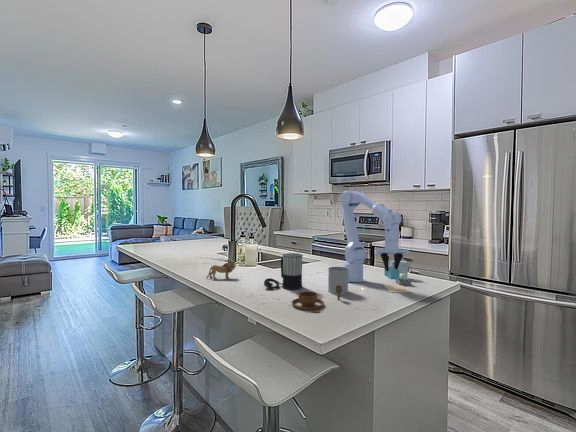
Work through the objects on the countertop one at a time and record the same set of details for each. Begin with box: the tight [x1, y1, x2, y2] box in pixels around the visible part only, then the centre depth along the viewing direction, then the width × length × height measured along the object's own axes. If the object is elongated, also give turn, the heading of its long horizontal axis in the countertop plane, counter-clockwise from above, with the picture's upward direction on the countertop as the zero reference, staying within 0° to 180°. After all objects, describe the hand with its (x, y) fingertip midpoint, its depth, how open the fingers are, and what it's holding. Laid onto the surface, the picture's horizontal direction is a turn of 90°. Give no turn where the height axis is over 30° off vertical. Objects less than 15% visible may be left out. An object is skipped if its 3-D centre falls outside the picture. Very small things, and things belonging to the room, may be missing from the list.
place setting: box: [291, 286, 342, 314], centre depth 121 cm, size 18×20×6 cm
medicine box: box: [389, 260, 409, 279], centre depth 164 cm, size 8×4×9 cm, turn 84°
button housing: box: [395, 278, 412, 286], centre depth 152 cm, size 5×5×2 cm
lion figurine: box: [206, 259, 237, 280], centre depth 163 cm, size 15×5×9 cm, turn 103°
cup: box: [327, 266, 349, 295], centre depth 139 cm, size 8×8×10 cm
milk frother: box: [263, 252, 304, 290], centre depth 145 cm, size 14×16×15 cm
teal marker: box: [383, 265, 399, 280], centre depth 143 cm, size 3×11×4 cm, turn 0°
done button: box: [400, 273, 408, 281], centre depth 152 cm, size 3×3×3 cm
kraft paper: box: [382, 284, 412, 293], centre depth 144 cm, size 9×12×1 cm
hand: (391, 270), depth 142 cm, fingers closed on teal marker, 3 cm apart
